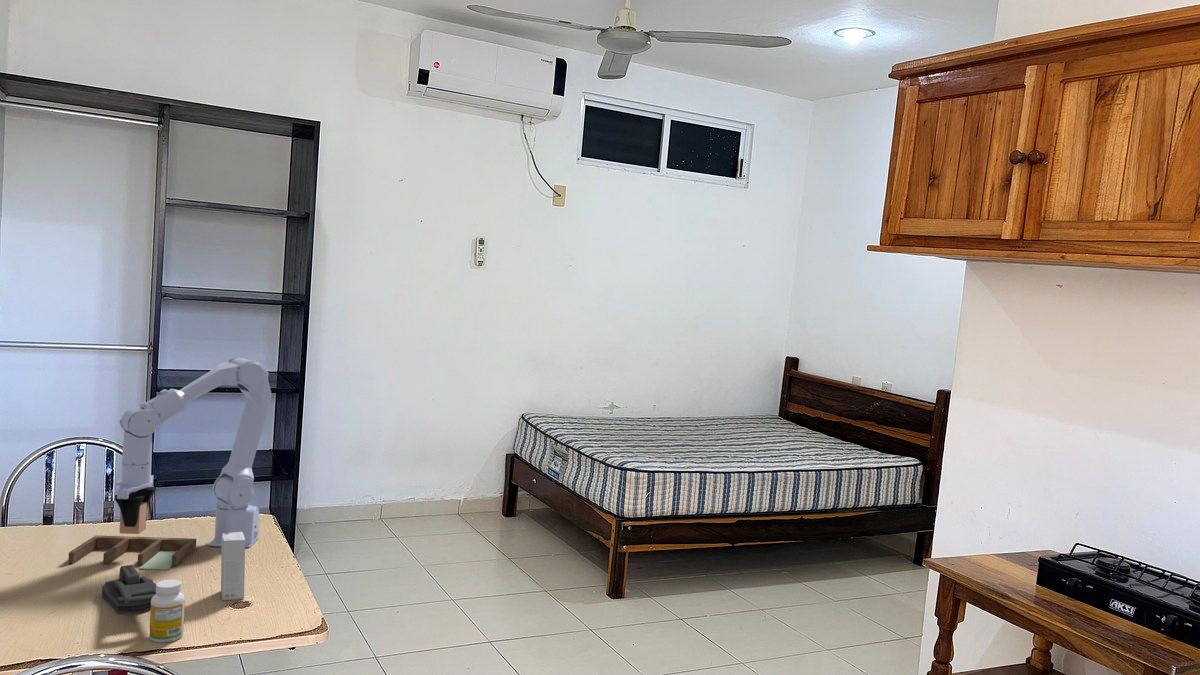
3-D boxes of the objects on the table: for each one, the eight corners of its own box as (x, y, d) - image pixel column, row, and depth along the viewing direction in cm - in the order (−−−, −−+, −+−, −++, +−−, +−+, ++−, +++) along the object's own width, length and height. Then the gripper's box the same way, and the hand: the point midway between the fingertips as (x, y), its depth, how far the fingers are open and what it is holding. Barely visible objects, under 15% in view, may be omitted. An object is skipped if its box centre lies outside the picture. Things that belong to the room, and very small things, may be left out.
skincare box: (244, 599, 174) (247, 539, 173) (220, 601, 172) (222, 541, 171) (242, 588, 180) (245, 530, 179) (218, 590, 178) (221, 532, 177)
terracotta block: (146, 528, 195) (147, 502, 195) (138, 534, 191) (139, 507, 191) (127, 528, 195) (128, 501, 194) (119, 533, 191) (120, 506, 190)
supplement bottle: (157, 630, 157) (159, 577, 156) (188, 631, 157) (190, 578, 157) (143, 642, 152) (146, 588, 151) (176, 643, 152) (178, 589, 152)
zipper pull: (123, 601, 153) (100, 559, 172) (121, 638, 153) (98, 592, 173) (178, 592, 158) (150, 553, 178) (177, 628, 159) (148, 585, 178)
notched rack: (195, 549, 202) (196, 538, 202) (172, 570, 187) (173, 558, 187) (95, 546, 199) (95, 535, 199) (63, 567, 185) (64, 555, 185)
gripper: (131, 455, 199) (129, 513, 200) (102, 468, 185) (100, 532, 185) (163, 456, 200) (161, 514, 201) (138, 470, 185) (135, 533, 186)
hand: (134, 523), depth 193 cm, fingers closed on terracotta block, 4 cm apart
